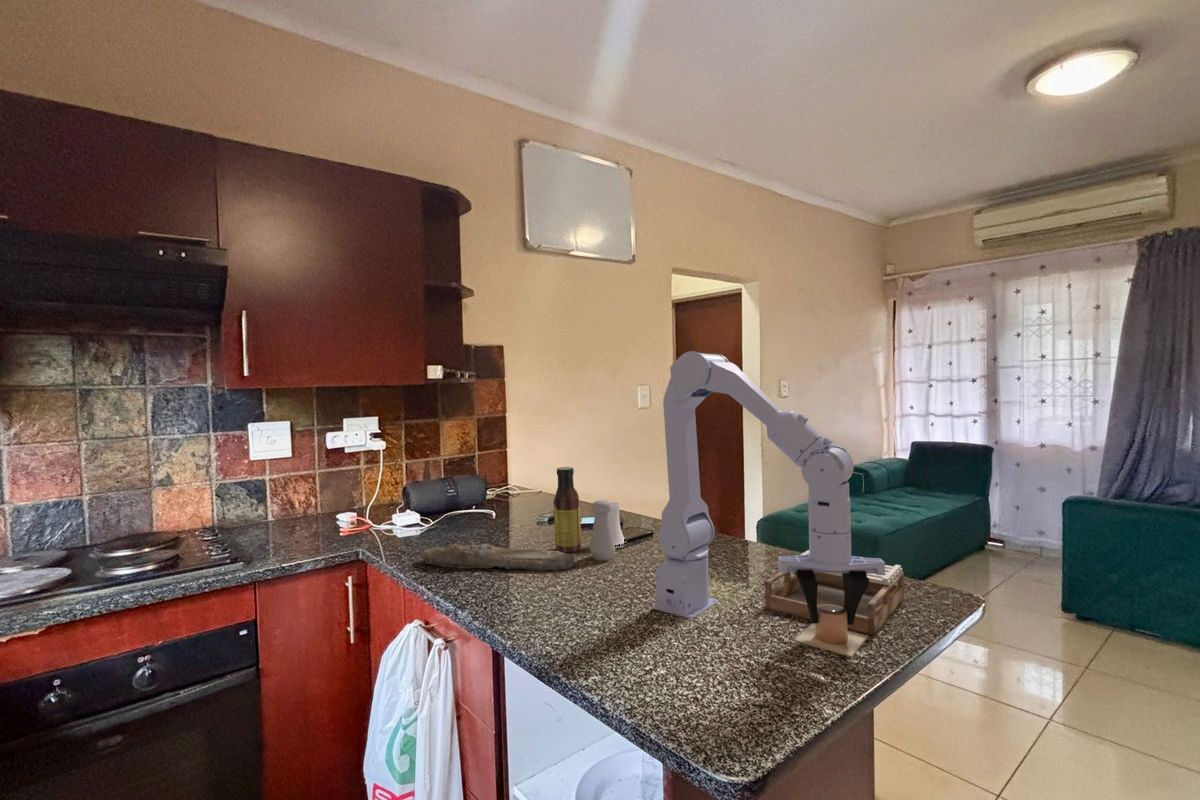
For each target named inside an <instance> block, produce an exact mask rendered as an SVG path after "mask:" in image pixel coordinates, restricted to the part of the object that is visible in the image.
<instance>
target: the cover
mask: <svg viewBox="0 0 1200 800" xmlns="http://www.w3.org/2000/svg"><path fill="white" fill-rule="evenodd" d="M808 554H809V549H807V550H806V551H804V552H802V553H801V554H800V555H808ZM901 572H903V568H902V565H901V564H895V565H887V564H885V575H877V574H867V577H868V578H869V582H874V583H879V584H884V585H890V584H891V582H893V581H894V579H896V578H897V576H898V575H899V573H901ZM821 573H823V572H821ZM826 574H832V575H837V576H842V573H826ZM842 577H843V576H842Z"/></svg>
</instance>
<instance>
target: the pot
mask: <svg viewBox="0 0 1200 800" xmlns="http://www.w3.org/2000/svg"><path fill="white" fill-rule="evenodd" d="M817 612H818V624H817V623H815V633H816V637H817V638H818V639H820V640H822V641H824V642H828V643H834V644H841V643H845V642H847V641H848V631H849V629H848V612H847V610H846V609H844V608H842V607H840V606H836V605H830V604H822V605H818V606H817Z"/></svg>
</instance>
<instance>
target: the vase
mask: <svg viewBox="0 0 1200 800" xmlns="http://www.w3.org/2000/svg"><path fill="white" fill-rule="evenodd" d="M610 503H611V511H610V512H609V517H610V522H611V528H612V533H613V539H614V544H615V545H616V547H615V549H620V548H623V547H624V546H621V545H622V544H623V545H624V543H625V542H626V543H627V540H626V541H625V542H624V539H625V536H624V535H623V531H622V529H621V523H620V505H621V504H620V503H618V502H610ZM619 544H620V547H619V546H618V547H617V545H619Z"/></svg>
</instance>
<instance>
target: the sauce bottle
mask: <svg viewBox="0 0 1200 800" xmlns="http://www.w3.org/2000/svg"><path fill="white" fill-rule="evenodd" d="M574 474H575V471H574V467H572V466H562V467H557V468H556V475H557V488H556V492H555V496H554V500H553V520H554V521H553V522H554V523H553V524H554V543H555V549H556V551H559V552H562V553H566V554H571V553H573V552H574V553H575V552H578V551H580V550H581V548H582V530H581V529H582V528H581V509H580V508H581V506H580V499H579V498H580V497H579V493H578V492H577V489H576V488H575V487H574V485H575V484H574Z"/></svg>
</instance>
